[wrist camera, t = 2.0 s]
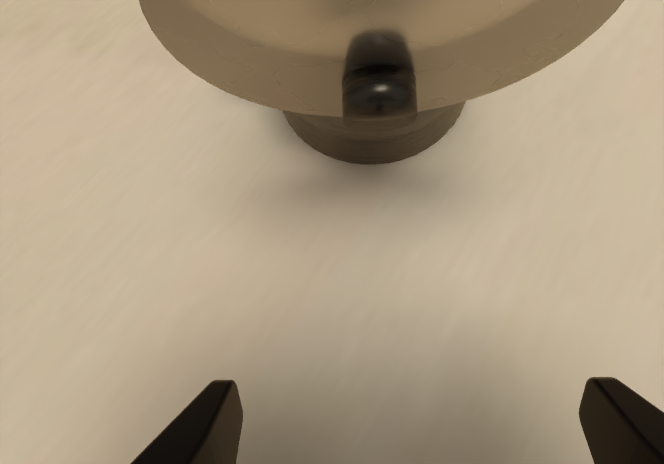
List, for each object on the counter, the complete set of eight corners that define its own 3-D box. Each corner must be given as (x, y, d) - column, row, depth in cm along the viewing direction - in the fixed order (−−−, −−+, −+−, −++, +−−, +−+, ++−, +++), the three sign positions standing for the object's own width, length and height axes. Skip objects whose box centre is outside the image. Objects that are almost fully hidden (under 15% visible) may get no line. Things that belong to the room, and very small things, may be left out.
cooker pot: (523, 170, 23) (583, 89, 16) (237, 184, 24) (185, 115, 18) (495, -8, 27) (535, -134, 20) (246, 13, 28) (206, -98, 21)
